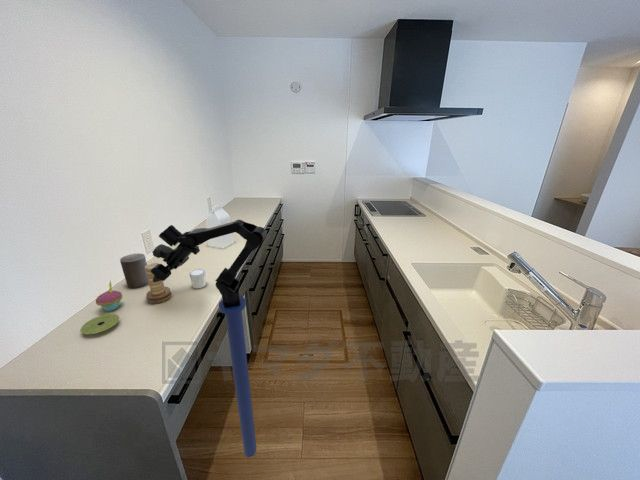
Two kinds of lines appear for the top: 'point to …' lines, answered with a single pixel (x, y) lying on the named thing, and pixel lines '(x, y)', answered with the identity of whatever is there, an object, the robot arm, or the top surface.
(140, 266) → the pillar candle
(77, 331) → the top surface
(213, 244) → the milk
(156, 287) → the chip column
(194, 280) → the white short cylinder
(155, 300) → the chip pile
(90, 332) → the green disc
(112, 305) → the cupcake
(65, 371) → the top surface
